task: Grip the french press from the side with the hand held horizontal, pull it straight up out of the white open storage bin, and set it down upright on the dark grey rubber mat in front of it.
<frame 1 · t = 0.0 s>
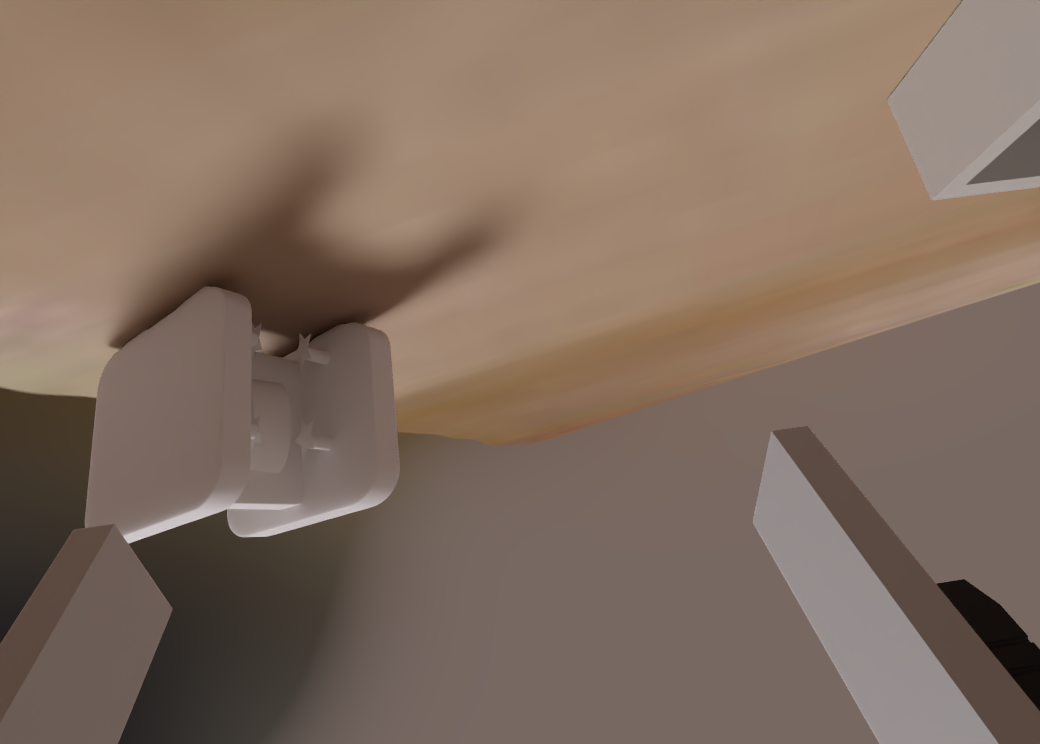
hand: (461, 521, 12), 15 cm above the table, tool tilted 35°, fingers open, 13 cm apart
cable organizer: (247, 330, 37), on the table
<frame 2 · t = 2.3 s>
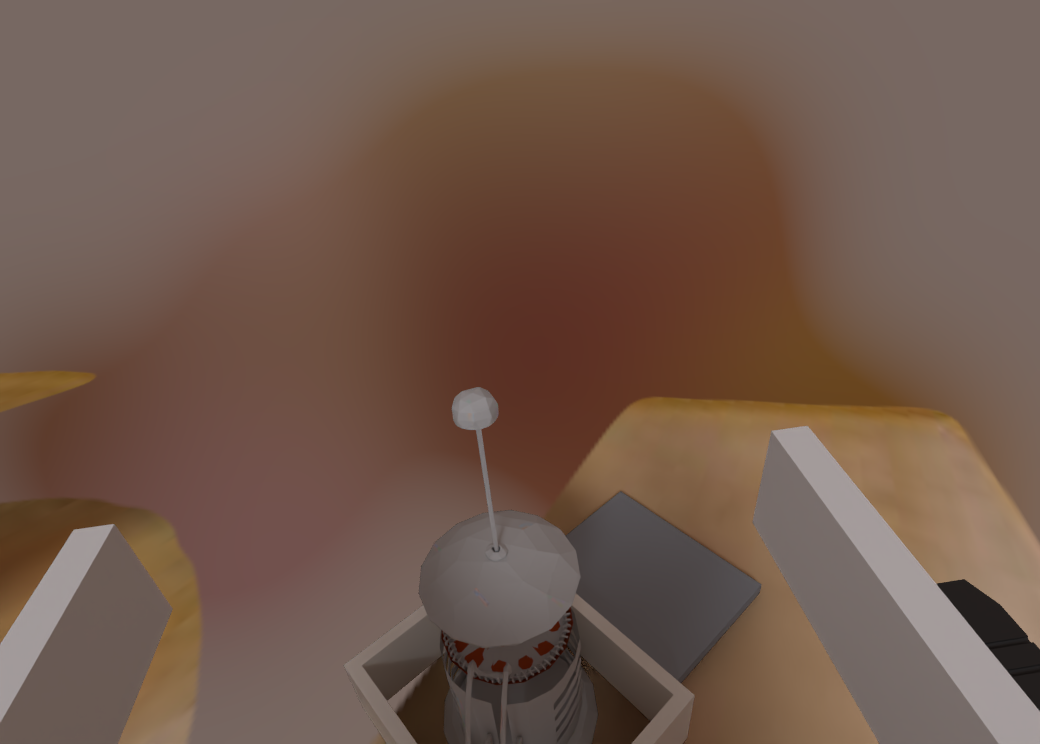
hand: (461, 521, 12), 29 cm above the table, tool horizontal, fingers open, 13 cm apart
white open storage bin: (518, 721, 37), on the table
rubber mat: (639, 584, 45), on the table
french press: (518, 723, 37), resting in white open storage bin
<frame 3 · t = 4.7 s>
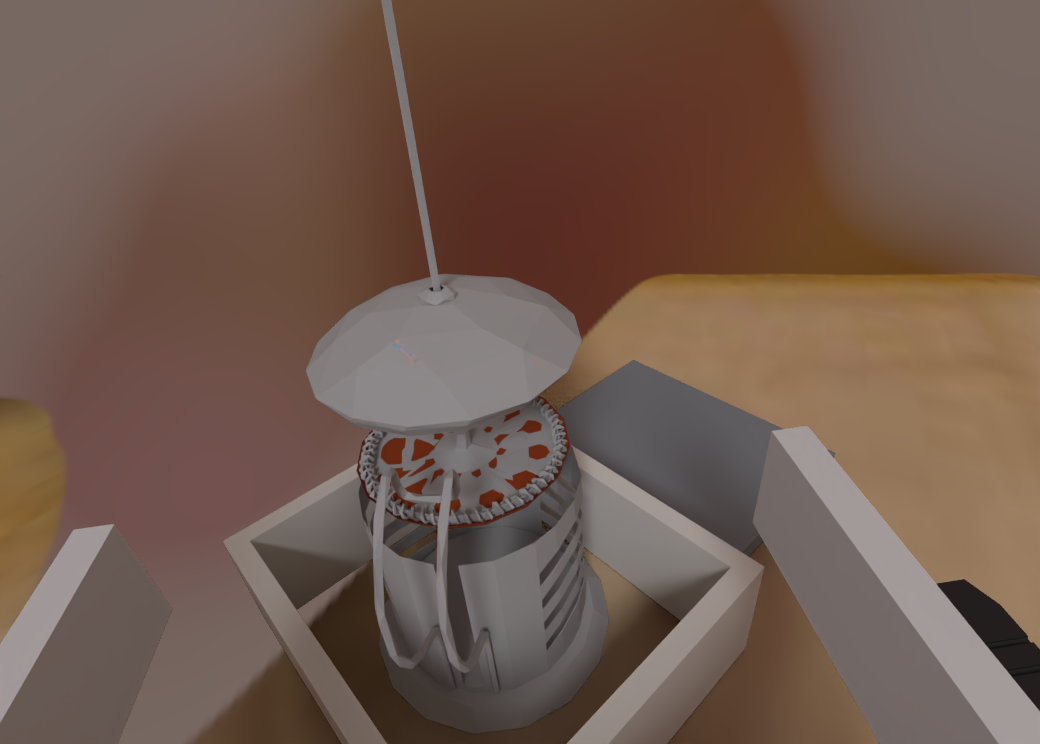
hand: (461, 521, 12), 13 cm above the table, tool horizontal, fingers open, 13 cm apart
white open storage bin: (490, 631, 25), on the table
rubber mat: (662, 461, 32), on the table
french press: (490, 634, 25), resting in white open storage bin
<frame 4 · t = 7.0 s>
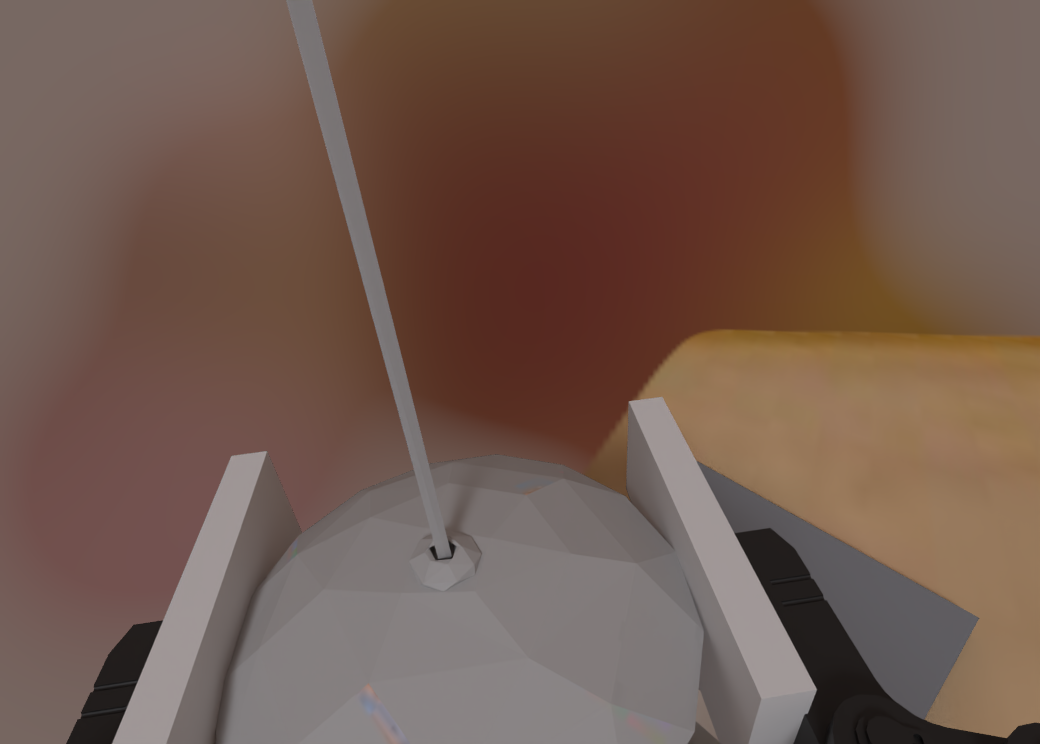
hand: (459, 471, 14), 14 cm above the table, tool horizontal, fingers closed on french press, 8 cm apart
rubber mat: (742, 616, 25), on the table
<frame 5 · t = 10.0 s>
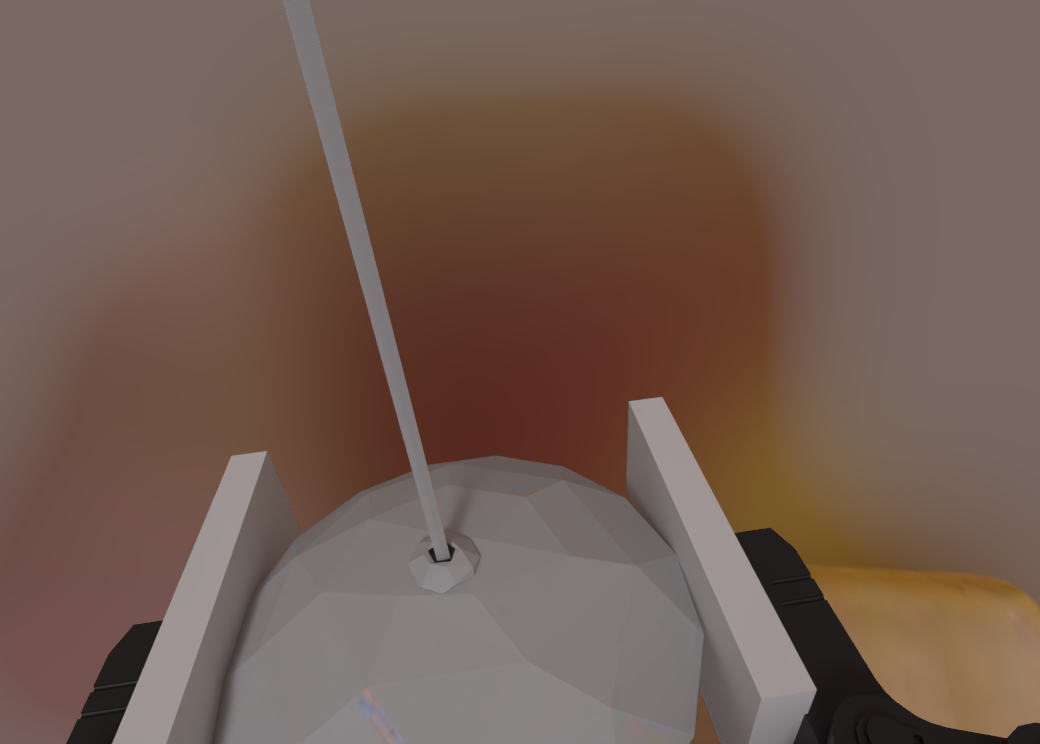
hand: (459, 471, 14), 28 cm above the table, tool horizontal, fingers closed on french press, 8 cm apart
when the fingers open (16 cm above the table, at t = 13.0 s): french press drops 1 cm, resting on rubber mat.
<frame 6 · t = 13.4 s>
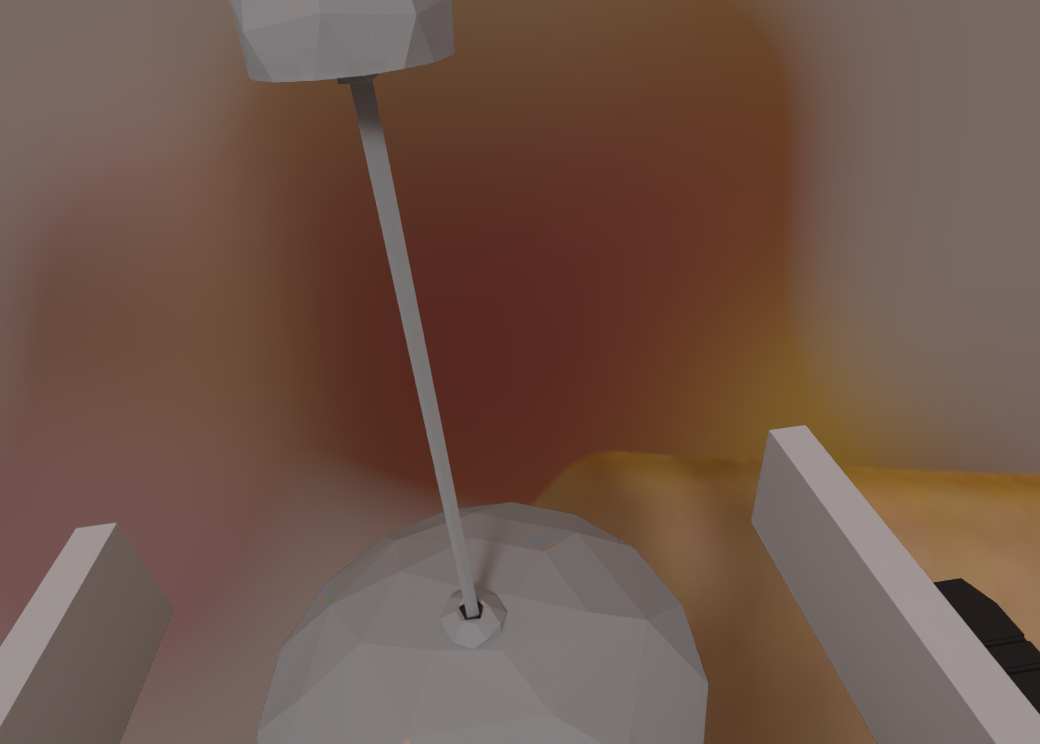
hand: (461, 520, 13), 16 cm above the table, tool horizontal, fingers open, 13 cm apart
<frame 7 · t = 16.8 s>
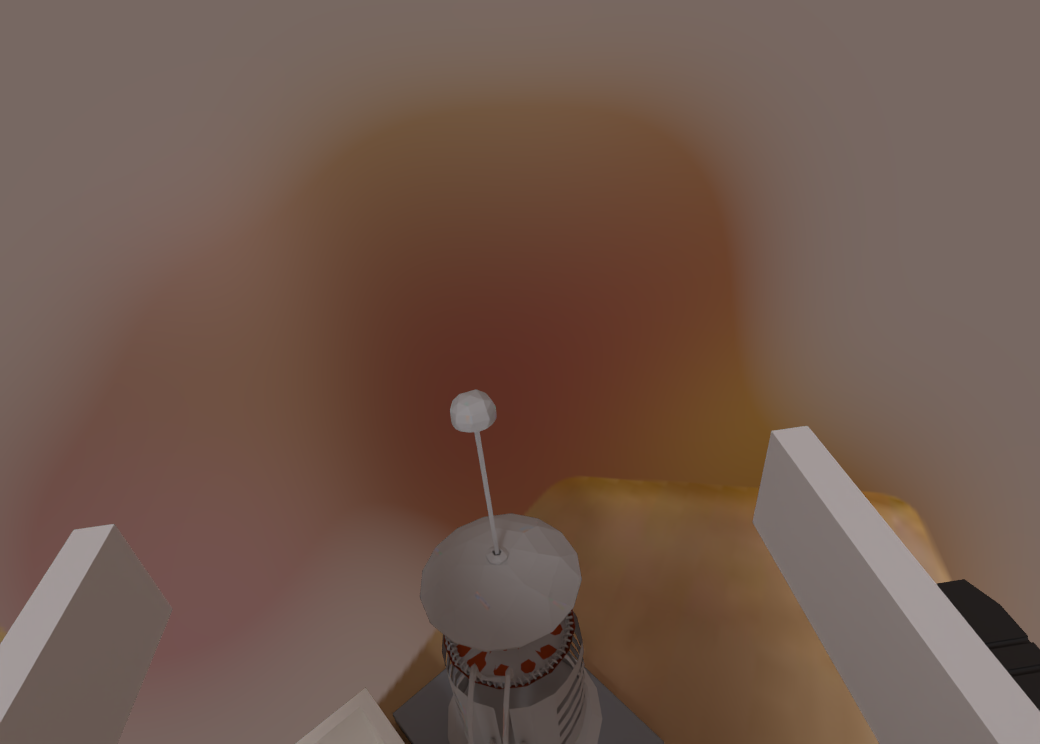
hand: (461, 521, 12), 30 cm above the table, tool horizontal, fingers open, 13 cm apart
rubber mat: (524, 735, 38), on the table
french press: (522, 728, 37), point 1 cm above the table, touching rubber mat
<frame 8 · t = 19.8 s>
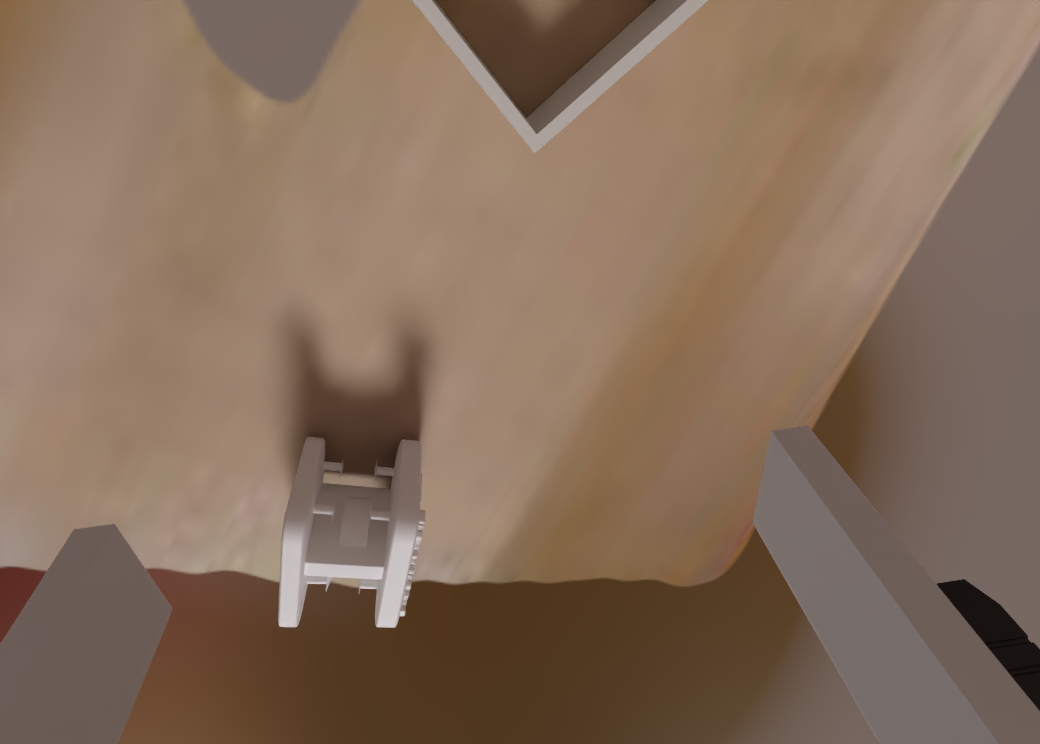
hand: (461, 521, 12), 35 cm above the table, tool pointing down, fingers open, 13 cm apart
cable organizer: (361, 481, 58), on the table
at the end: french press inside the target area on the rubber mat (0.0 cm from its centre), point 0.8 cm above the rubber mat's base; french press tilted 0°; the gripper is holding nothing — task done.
